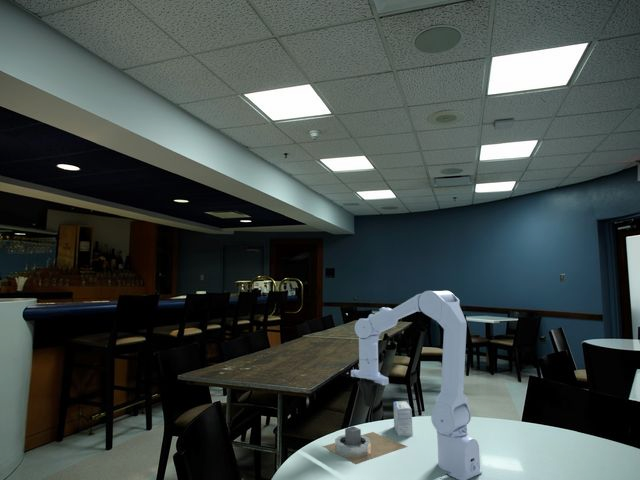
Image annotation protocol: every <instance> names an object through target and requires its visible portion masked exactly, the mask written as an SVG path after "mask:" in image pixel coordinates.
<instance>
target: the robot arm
mask: <svg viewBox="0 0 640 480" xmlns="http://www.w3.org/2000/svg"><path fill="white" fill-rule="evenodd" d="M378 310H379V311H377V312H376V313H370V314H369V315H368V317H367V318H359V319H358V320H357V321H356V322H355V324H354V332H355V334H356V336H357V337H358V360H359V361H358V363H359V366H358V369H356V368H355V369H351V370H350V377H352V378H359V379H360V380H358V381H357V385H358V387H359V388H360V391H361V394H362V396H363V402H364V405H365V406H366V407H368V408H369V407H373V406H374V404H375V399H376V396H377V392H378V390H379V388H380V386H388V385H389V383H390V381H389V377H387V376H385V375H383V374H381V372H379V339H380V335H381V334H382V333H383V332H385V331H387V330H390V329H392V328H394V327H395V326H397V325H398V322H399V320H400V319H403V318H405V317H407V316H409V315H412V314H414V313H416V312H419V313H420V312H422V313H423V314H424V315H426V316H428V317H429V318H431V319H432V320H434V321H436V323H438V324H439V325H440V326H441V328H442V329H443V341H442V342H443V343H442V361H441V362H442V364H441V380H440V381H441V383H440V392H439V394H438V396H437V398H436V400H435V404H434V405H435V406H434V409H433V410H432V412H431V416H430V418H431V419H430V420H431V423H432V425H433V428H434V429H435V430H436V435H437V437H436V438H437V462H438V464H437V465H438V467H439V468H440V469H441V470H444V471H446V472H447V473H446V475H448V476H450V477H452V478H454V479H456V480H469V479H472V478H473V477H476V476H477V475H480V474H482V473H483V470H482V469H481V461H480V457H481V456H480V445H479V442H478V440H477V439H475V438H473V437H471V435H469V434H468V425H469V423H470V422H471V420H472V412H471V410H470V406H469V398H468V397H467V396H466V395H465V393H464V390H465V386H464V385H465V365H466V350H467V348H466V346H467V345H466V344H467V326H468V324H467V320H466V318H465V316H464V313H463V311H462V308H461V306H460V299H459V298H458V297H457V296H455V294H454V293H452V292H451V291H449V290H425V291H423V292H422V293H418V294H416V295H414V296H413V297H411V298H409V299H407V300H406V301H405V302H403V303H400V304H399V305H397V306H396V307H394V308H390V307H381V308H379V309H378Z"/></svg>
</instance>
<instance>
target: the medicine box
mask: <svg viewBox="0 0 640 480" xmlns="http://www.w3.org/2000/svg"><path fill="white" fill-rule="evenodd" d="M392 405H393V428H394V429H395V431H396V434H397V436H398V437H413V435H414V434H413V433H414V432H413V431H414V430H413V413H412V410H413V409H412V408H411V406H410V405H409V403H408V402H407V401H403V400H402V401H400V400H399V401H393V403H392Z"/></svg>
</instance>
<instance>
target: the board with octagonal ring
mask: <svg viewBox="0 0 640 480" xmlns="http://www.w3.org/2000/svg"><path fill="white" fill-rule="evenodd" d="M344 442H345V434H343V435H339V436H337V437H336V438H335V439H334V442H333V443H330V444H326V445H323V446H322V447H323V448H325V449H327V450H329V451H330V452H333V453H334V454H336V455H338V456H339V457H341V458H343V459H345V460H347V461H348V462H351V463H352V464H353V465H357V464H361V463H363V462H366V461H369V460H373V459H376V458H379V457H381V456H384V455H388V454H390V453H393V452H396V451H399V450H401V449H405V448H408V446H407V445H405V444H402V443H401V442H398V441H395V440H393V439H391V438H388V437H386V436H384V435H381V434H379V433H376V432H374V431H372V432H368V433H364V434H361V442H362V443H363V444H362V445H358V446H350V445H345V444H343V443H344Z"/></svg>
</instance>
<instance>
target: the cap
mask: <svg viewBox="0 0 640 480" xmlns="http://www.w3.org/2000/svg"><path fill="white" fill-rule="evenodd" d="M361 430H362V429H361V428H358V427H356V426H350V427H347V428H346V427H345V428H344V435H345V442H344V443H343V444H345V445H350V446H358V445H362V444H363V443H362V442H361V435H362V431H361Z"/></svg>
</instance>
